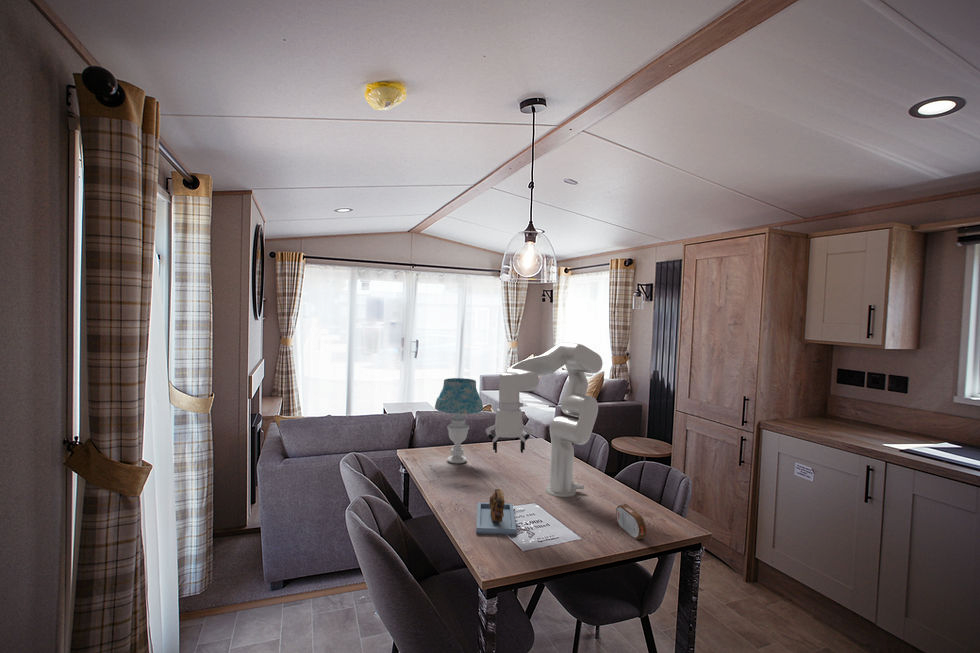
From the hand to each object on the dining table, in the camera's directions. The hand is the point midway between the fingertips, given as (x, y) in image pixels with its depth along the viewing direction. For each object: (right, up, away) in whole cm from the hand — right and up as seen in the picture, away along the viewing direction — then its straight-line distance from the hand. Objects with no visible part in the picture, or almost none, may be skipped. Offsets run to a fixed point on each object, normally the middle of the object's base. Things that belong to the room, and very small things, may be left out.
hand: (508, 451), depth 172 cm
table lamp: (-23, -20, +59) cm, 66 cm away
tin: (+41, -25, -13) cm, 50 cm away
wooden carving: (-5, -22, -8) cm, 24 cm away
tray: (-5, -23, -7) cm, 24 cm away
